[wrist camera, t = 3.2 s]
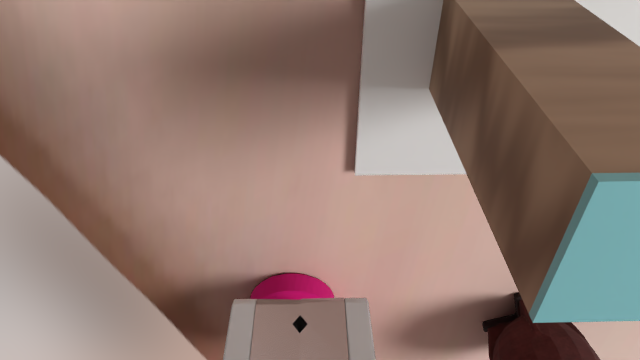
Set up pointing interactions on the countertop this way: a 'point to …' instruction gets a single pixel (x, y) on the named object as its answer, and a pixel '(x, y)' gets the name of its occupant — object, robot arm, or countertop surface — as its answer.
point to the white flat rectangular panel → (422, 85)
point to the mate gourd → (534, 338)
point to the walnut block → (549, 147)
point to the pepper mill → (291, 288)
